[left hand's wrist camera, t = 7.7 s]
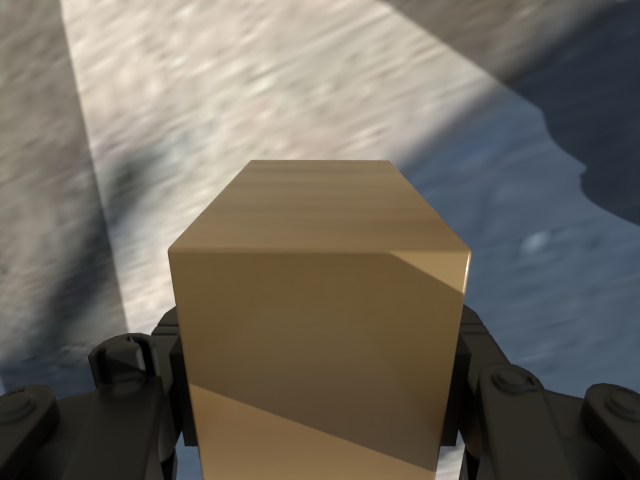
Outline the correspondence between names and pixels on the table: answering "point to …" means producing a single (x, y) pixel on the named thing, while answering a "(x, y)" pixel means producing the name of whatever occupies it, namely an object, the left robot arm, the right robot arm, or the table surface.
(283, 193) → the beam
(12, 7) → the table surface
